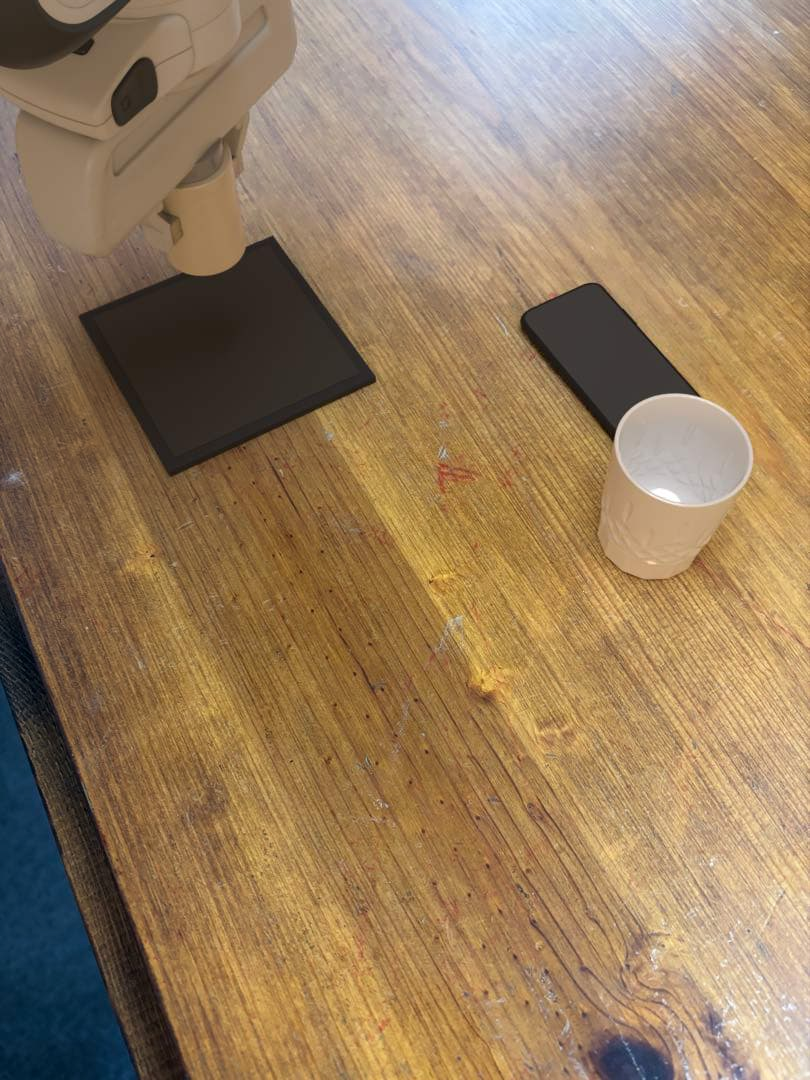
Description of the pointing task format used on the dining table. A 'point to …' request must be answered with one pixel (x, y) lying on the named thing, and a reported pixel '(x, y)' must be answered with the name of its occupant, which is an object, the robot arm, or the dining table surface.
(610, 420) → the smartphone
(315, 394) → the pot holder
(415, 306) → the dining table surface
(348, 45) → the dining table surface
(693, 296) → the dining table surface
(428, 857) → the dining table surface
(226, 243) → the salt shaker
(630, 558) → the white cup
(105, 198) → the robot arm
